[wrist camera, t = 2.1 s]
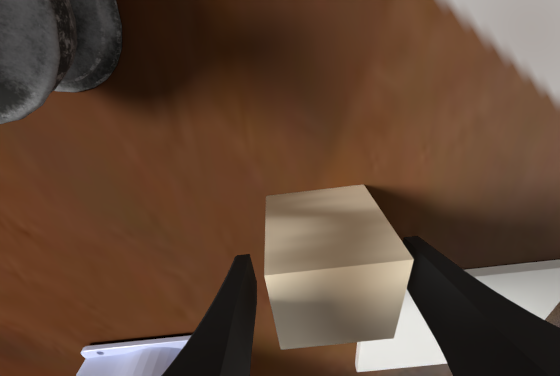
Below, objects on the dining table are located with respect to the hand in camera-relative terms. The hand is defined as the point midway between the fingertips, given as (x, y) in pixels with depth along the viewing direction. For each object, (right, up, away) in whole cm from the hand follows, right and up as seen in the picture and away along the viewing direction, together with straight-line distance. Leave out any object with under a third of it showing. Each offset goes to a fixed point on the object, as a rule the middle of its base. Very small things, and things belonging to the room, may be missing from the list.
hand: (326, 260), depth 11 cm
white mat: (+11, -7, +8) cm, 15 cm away
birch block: (0, +1, +2) cm, 3 cm away
